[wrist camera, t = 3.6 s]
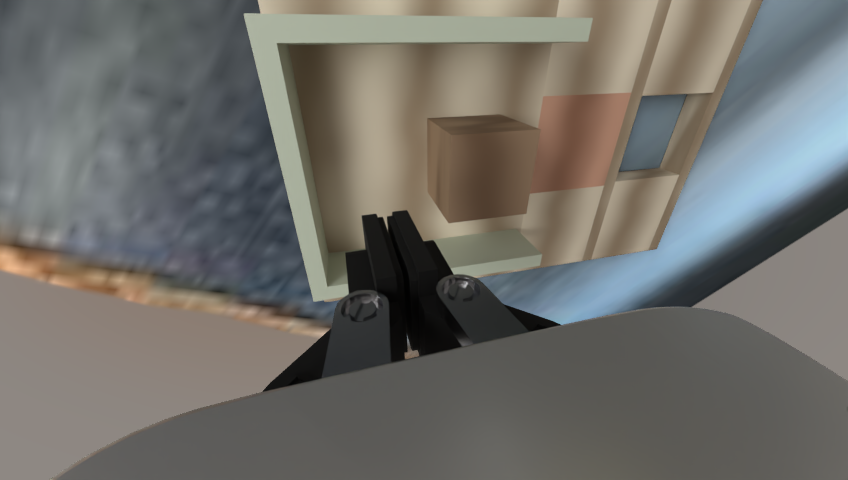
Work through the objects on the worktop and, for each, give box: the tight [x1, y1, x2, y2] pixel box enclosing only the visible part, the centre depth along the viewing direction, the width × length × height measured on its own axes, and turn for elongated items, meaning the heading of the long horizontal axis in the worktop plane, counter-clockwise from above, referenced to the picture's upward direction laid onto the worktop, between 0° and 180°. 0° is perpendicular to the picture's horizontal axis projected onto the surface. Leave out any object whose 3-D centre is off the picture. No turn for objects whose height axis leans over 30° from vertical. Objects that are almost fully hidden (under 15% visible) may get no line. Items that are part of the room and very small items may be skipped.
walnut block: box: [427, 114, 541, 223], centre depth 20 cm, size 5×5×5 cm
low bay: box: [244, 14, 593, 302], centre depth 20 cm, size 16×15×4 cm
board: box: [258, 0, 763, 302], centre depth 24 cm, size 32×22×2 cm
